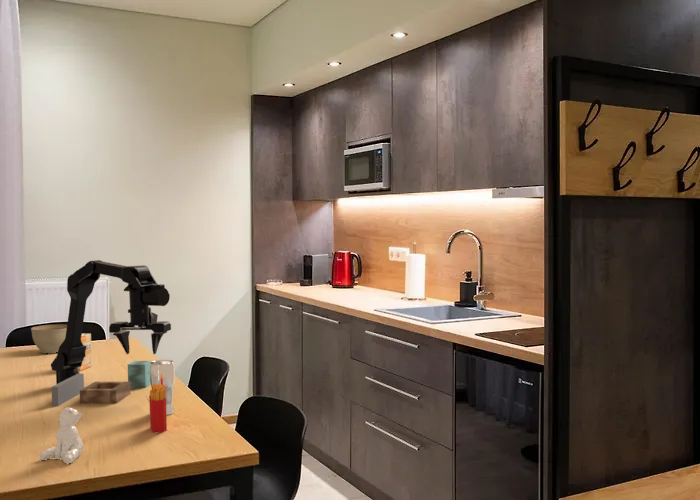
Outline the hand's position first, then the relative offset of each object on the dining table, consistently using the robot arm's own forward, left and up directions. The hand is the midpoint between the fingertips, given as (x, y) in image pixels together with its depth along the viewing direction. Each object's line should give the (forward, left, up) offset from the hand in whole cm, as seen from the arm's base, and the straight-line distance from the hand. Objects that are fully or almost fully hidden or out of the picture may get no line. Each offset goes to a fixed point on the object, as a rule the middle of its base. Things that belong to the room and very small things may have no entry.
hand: (141, 353), depth 225 cm
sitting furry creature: (+2, -57, -14) cm, 58 cm away
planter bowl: (-67, +75, -14) cm, 102 cm away
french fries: (+17, -35, -14) cm, 41 cm away
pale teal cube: (-6, +14, -14) cm, 21 cm away
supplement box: (-39, +41, -14) cm, 58 cm away
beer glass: (+13, -19, -14) cm, 27 cm away
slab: (-23, -3, -14) cm, 27 cm away
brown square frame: (-11, -3, -14) cm, 18 cm away
